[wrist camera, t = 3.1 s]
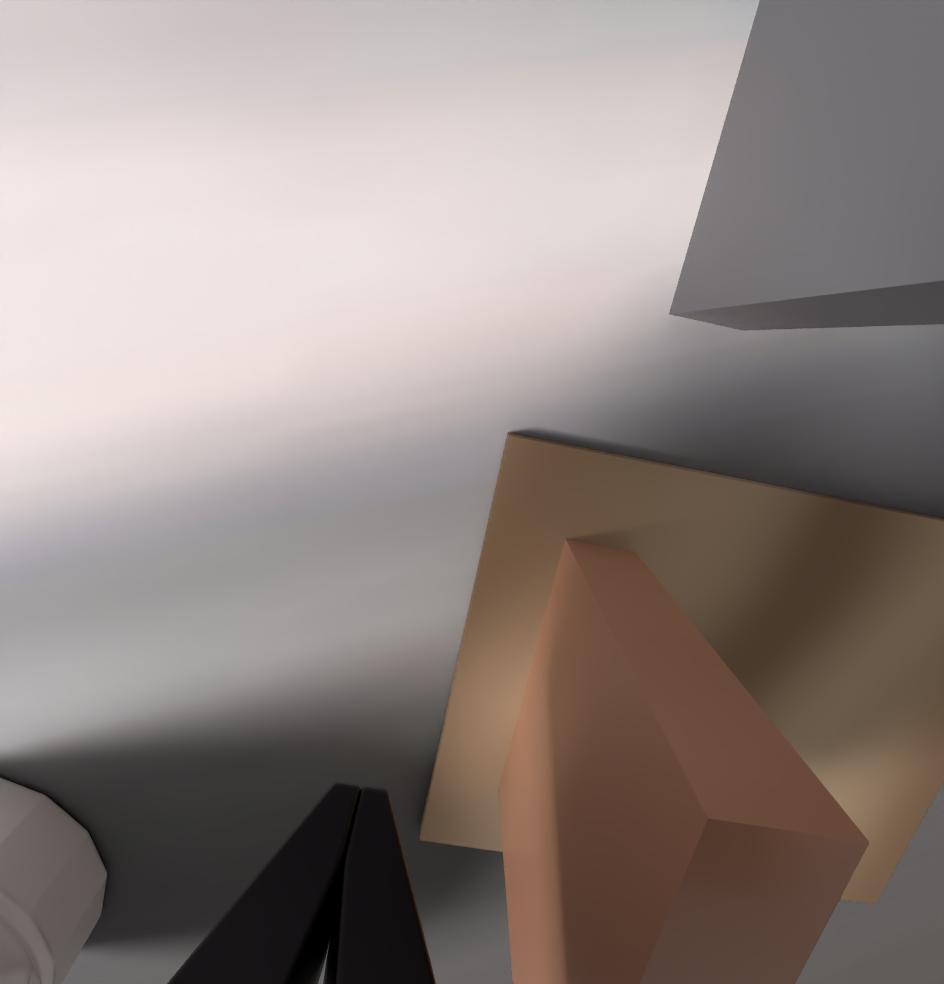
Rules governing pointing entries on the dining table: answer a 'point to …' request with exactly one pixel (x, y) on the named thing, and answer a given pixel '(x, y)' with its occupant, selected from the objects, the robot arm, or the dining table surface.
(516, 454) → the cork mat
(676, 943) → the terracotta tile
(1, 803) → the white cup
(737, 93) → the gray box
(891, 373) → the dining table surface
